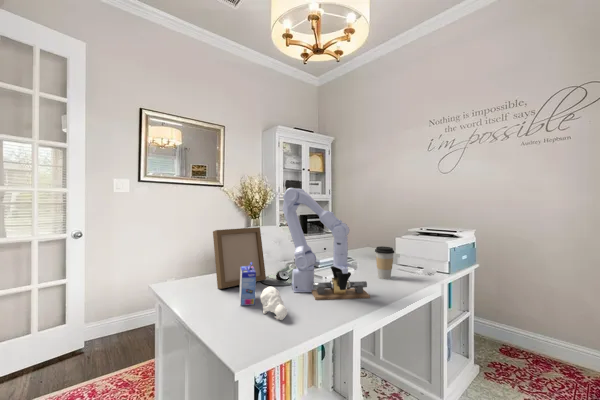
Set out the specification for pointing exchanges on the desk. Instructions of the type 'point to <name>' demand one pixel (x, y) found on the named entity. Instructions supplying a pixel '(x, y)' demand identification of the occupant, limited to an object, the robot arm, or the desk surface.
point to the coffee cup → (384, 261)
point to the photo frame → (237, 254)
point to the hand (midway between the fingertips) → (340, 286)
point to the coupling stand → (352, 292)
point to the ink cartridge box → (247, 285)
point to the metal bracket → (288, 274)
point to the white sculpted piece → (273, 302)
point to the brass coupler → (337, 287)
